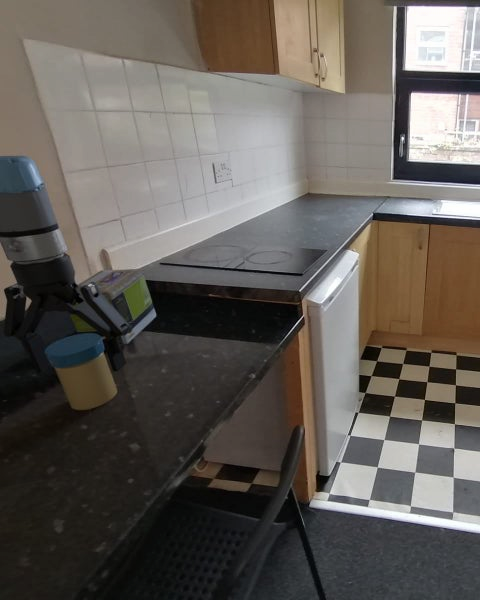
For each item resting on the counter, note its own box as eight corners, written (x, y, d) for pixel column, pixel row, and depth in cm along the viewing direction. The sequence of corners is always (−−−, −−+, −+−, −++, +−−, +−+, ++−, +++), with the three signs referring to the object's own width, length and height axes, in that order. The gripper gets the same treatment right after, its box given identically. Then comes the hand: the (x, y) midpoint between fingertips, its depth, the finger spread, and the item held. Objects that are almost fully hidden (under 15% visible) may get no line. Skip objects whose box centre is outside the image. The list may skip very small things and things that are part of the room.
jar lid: (93, 363, 70) (89, 352, 69) (39, 370, 68) (34, 359, 67) (111, 341, 77) (107, 330, 76) (62, 347, 75) (58, 336, 74)
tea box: (119, 322, 105) (101, 268, 99) (159, 320, 106) (144, 267, 100) (83, 352, 91) (60, 292, 85) (129, 350, 92) (109, 290, 86)
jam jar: (62, 413, 72) (39, 361, 68) (80, 389, 79) (60, 340, 74) (109, 406, 74) (89, 355, 70) (123, 383, 81) (106, 335, 76)
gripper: (-63, 265, 61) (-5, 380, 70) (101, 264, 62) (139, 378, 70) (-17, 251, 68) (31, 357, 77) (130, 249, 69) (161, 355, 77)
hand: (82, 367), depth 74 cm, fingers open, 13 cm apart
